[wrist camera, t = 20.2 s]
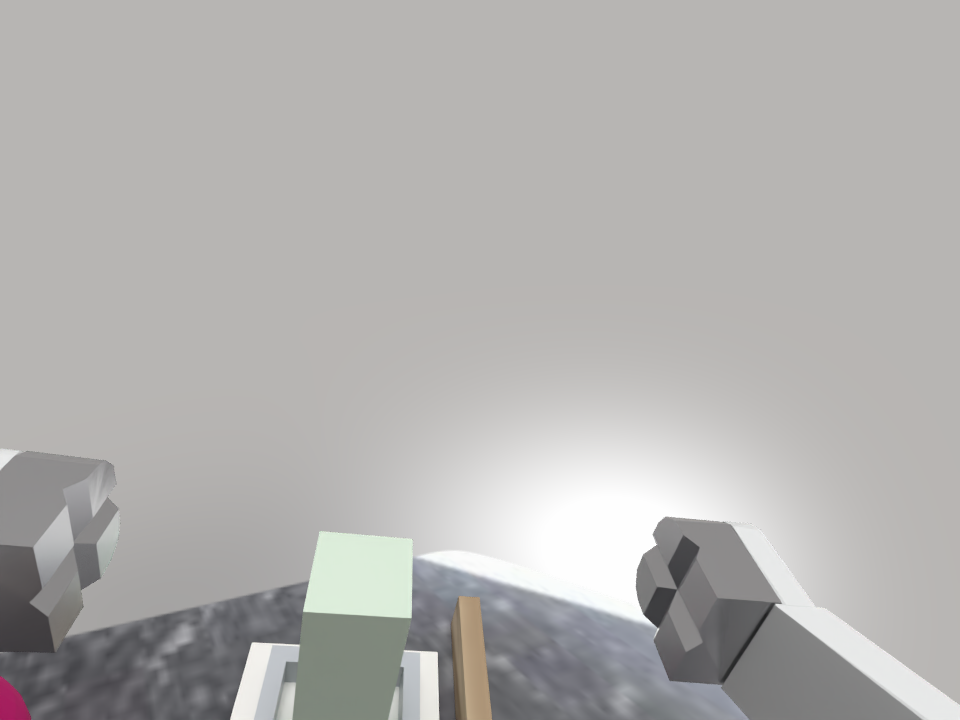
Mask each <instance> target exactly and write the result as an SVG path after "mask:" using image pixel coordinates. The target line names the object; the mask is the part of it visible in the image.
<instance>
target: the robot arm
mask: <svg viewBox="0 0 960 720" xmlns="http://www.w3.org/2000/svg"><path fill="white" fill-rule="evenodd" d="M115 485H116V479H115V472H114V466H113V465H112V464H111V463H109V462H108V461H105V460H97V459H89V458H81V457H72V456H64V455H56V454H48V453H39V452H30V451H26V452H23V451H16V450H9V449H0V652H40V653H55V652H56V650H57V649H58V647H59V646H60V644H61V642H62V641H63V639H64V637H65V636H66V634H67V632H68V631H69V629H70V628H71V626H72V624H73V623H74V621H75V619H76V618H77V616H78V615H79V613H80V611H81V610H82V608H83V601H82V593H81V590H82V589H84V588H85V587H87V586H89V585H90V584H92V583H94V582H95V581H97V580H98V579H100V578H101V577H102V575H103V573H104V572H105V570H106V568H107V566H108V565H109V563H110V561H111V559H112V556H113V553H114V550H115V547H116V544H117V541H118V537H119V528H120V515H119V509H118V507H117V506H116V505H115V504H114V503H112V501H111V500H110V499H109V498H108V496H109V494H110V493H111V491H112V490H113V488H114V487H115ZM653 536H654V539H655V542H656V544H657V545H656V546H655V547H653V548H652V549H651V550H649V551H648V552H646V553H645V554H644V555H643V557H642V559H641V562H640V564H639V566H638V569H637V578H636V590H637V596H638V601H639V604H640V606H641V609H642V612H643V615H645V616H646V617H647V618H648V619H649V620H650V621H651V622H652V623H653V624H654V625H655V626H656V627H657V631H656V634H655V637H654V643H655V645H656V648H657V650H658V653H659V655H660V658H661V660H662V663H663V665H664V668H665V670H666V673H667V675H668V678H669V680H670V681H677V682H690V683H704V684H717V685H722V687H721V688H722V689H723V691H724V692H725V693H726V694H727V695H728V696H729V697H730V698H731V699H732V701H733V702H734V703H735V704H736V705H737V706H738V707H739V708H740V709H741V711H742V712H743V713H744V714H745V715H746V716H747V717H748V718H749V719H750V720H960V705H959V704H957V703H956V702H955V701H953V700H952V699H951V698H949V697H948V696H946V695H945V694H944V693H942V692H941V691H939V690H938V689H937V688H935V687H934V686H932V685H931V684H930V683H928V682H927V681H926V680H924V679H923V678H921V677H920V676H919V675H917V674H916V673H914V672H913V671H912V670H910V669H909V668H908V667H906V666H905V665H903V664H902V663H900V662H899V661H898V660H896V659H895V658H894V657H892V656H891V655H889V654H888V653H887V652H885V651H884V650H883V649H881V648H880V647H878V646H877V645H876V644H874V643H873V642H871V641H870V640H868V639H867V638H866V637H864V636H863V635H861V634H860V633H859V632H858V631H856V630H855V629H853V628H852V627H851V626H849V625H848V624H846V623H845V622H844V621H842V620H841V619H840V618H838V617H837V616H835V615H834V614H832V613H831V612H830V611H828V610H827V609H826V608H821V607H815V605H814V604H813V603H812V601H811V600H810V598H809V597H808V595H807V594H806V593H805V591H804V590H803V588H802V587H801V586H800V584H799V583H798V581H797V580H796V579H795V577H794V576H793V574H792V573H791V572H790V570H789V569H788V567H787V566H786V564H785V563H784V562H783V560H782V559H781V557H780V556H779V555H778V553H777V552H776V550H775V549H774V548H773V546H772V545H771V543H770V542H769V541H768V539H767V538H766V537H765V535H764V533H763V532H762V531H761V530H760V529H759V528H757V527H756V526H754V525H753V524H749V523H748V524H747V523H736V522H718V521H706V520H696V519H685V518H674V517H665V518H664V519H662V520H661V521H660V522H659V523H658V525H657V527H656V529H655V531H654V533H653Z"/></svg>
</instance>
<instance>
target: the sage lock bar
mask: <svg viewBox="0 0 960 720" xmlns="http://www.w3.org/2000/svg"><path fill="white" fill-rule="evenodd" d="M412 550H413V539H405V538H392V537H382V536H370V535H358V534H345V533H334V532H323V531H320V533H319V538H318V543H317V548H316V552H315V557H314V562H313V567H312V571H311V576H310V581H309V586H308V591H307V595H306V600H305V605H304V610H303V617H302V628H301V638H300V648H299V658H298V668H297V678H296V688H295V698H294V708H293V718H292V720H388V718H389V714H390V709H391V705H392V701H393V696H394V692H395V688H396V683H397V679H398V675H399V670H400V666H401V661H402V657H403V653H404V648H405V644H406V640H407V635H408V631H409V627H410V622H411V613H412V553H413V551H412Z"/></svg>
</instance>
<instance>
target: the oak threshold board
mask: <svg viewBox="0 0 960 720" xmlns="http://www.w3.org/2000/svg"><path fill="white" fill-rule="evenodd" d="M451 633H452V653H453V673H454V694H455V714H456V720H492V715H491V705H490V695H489V686H488V676H487V666H486V657H485V647H484V637H483V628H482V618H481V608H480V598H479V597H464V596H459V597H458V601H457V604H456V608H455V612H454V615H453V619H452V622H451Z"/></svg>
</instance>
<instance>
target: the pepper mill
mask: <svg viewBox="0 0 960 720" xmlns="http://www.w3.org/2000/svg"><path fill="white" fill-rule="evenodd" d="M0 720H31V716H30V713H29V711H28V709H27V707H26V705H25V703H24V701H23V699H22V696H21V695H20V694H19V692H18V691H17V690H16V689H15V688H14V687H13V686H12V685H11V684H10V683H8V682H7V681H6V680H5V679H4V678H2V677H1V676H0Z"/></svg>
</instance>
